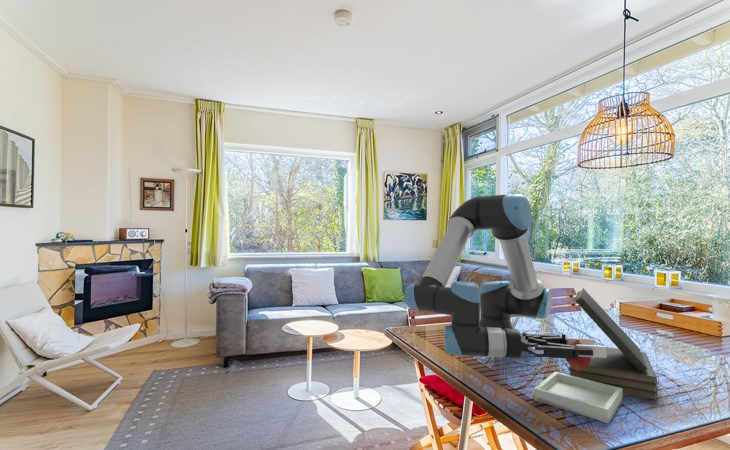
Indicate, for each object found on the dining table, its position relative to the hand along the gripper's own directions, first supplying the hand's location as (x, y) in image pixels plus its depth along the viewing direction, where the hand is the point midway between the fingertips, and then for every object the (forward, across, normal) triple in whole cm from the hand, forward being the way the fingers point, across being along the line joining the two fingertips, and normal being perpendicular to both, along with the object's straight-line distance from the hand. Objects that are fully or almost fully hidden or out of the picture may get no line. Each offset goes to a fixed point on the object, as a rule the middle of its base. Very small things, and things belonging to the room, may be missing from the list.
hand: (599, 348), depth 91 cm
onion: (-5, 0, -6) cm, 8 cm away
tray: (-5, 0, -14) cm, 14 cm away
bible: (+10, -18, -14) cm, 25 cm away
